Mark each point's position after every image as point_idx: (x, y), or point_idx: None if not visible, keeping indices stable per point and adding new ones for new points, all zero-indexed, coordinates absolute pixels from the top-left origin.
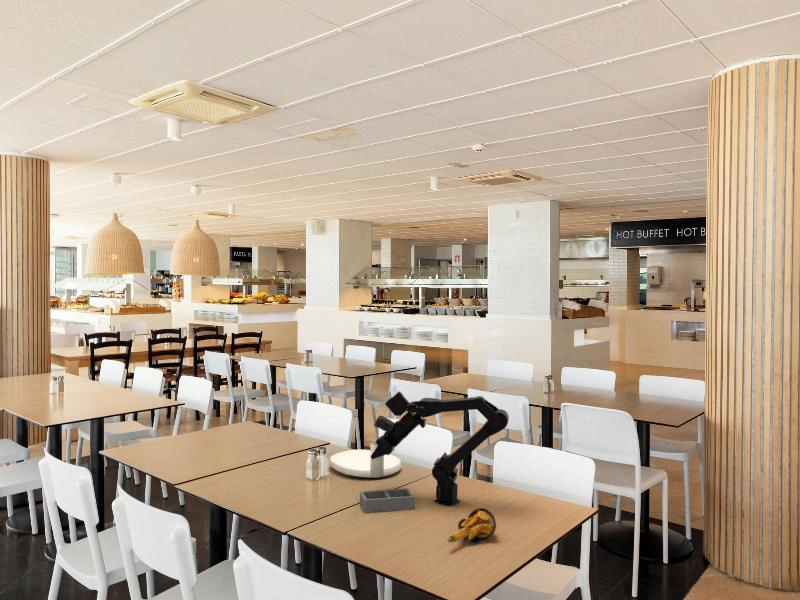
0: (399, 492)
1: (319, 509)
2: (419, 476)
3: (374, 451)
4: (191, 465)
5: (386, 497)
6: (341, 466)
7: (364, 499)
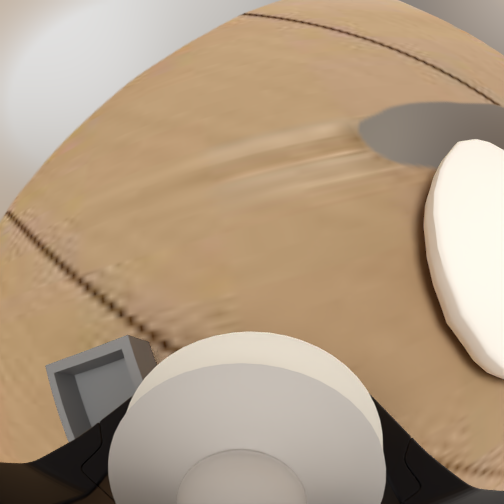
0: None
1: (93, 224)
2: (497, 455)
3: (114, 413)
4: (328, 9)
5: None
6: (438, 179)
7: (52, 363)
